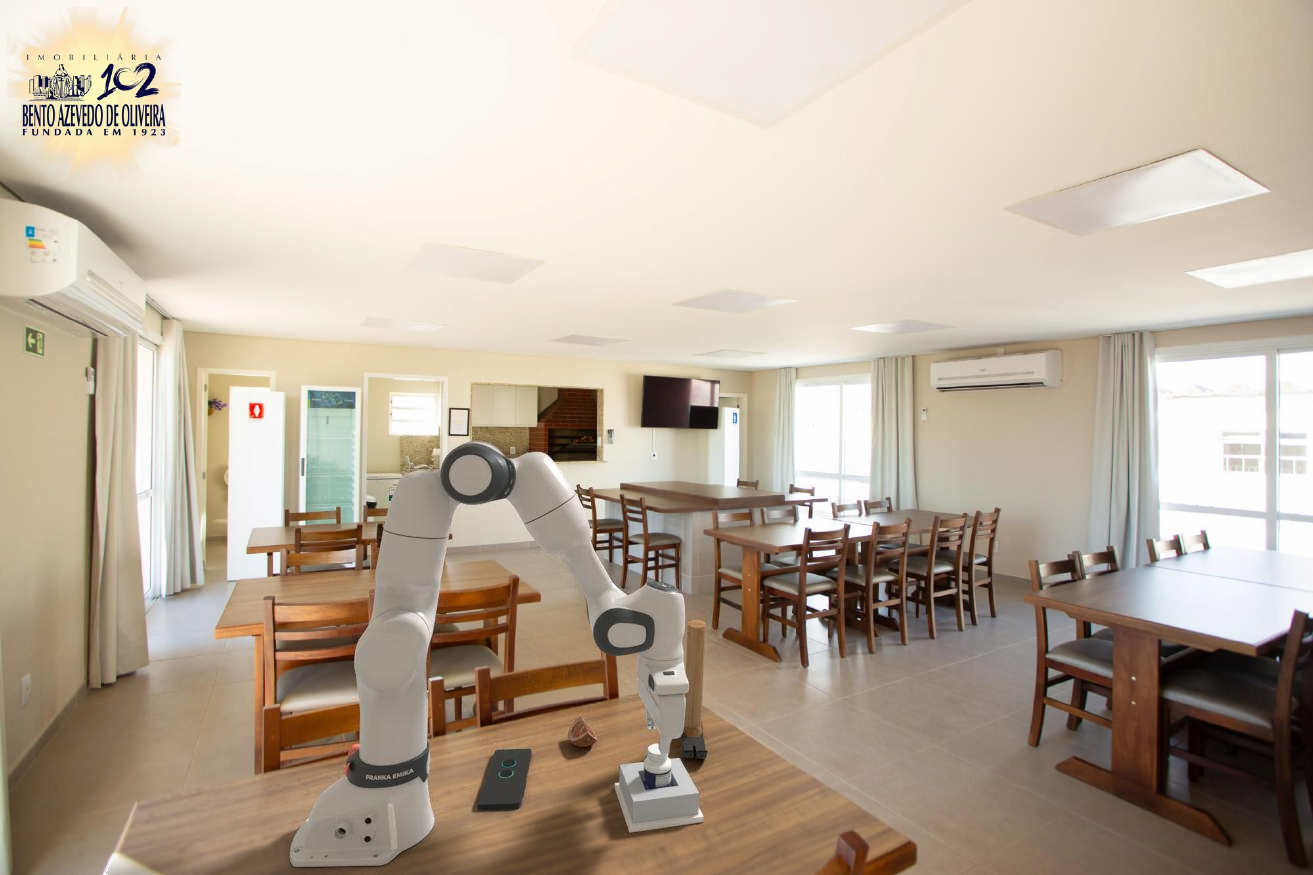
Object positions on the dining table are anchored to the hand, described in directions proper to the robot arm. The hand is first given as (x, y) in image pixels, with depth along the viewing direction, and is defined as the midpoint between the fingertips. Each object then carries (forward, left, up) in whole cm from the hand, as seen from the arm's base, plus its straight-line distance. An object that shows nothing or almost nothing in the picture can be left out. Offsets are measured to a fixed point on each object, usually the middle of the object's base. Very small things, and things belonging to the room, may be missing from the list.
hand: (657, 739), depth 116 cm
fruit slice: (-11, +25, -13) cm, 30 cm away
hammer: (+14, +21, -13) cm, 29 cm away
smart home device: (-28, +15, -13) cm, 34 cm away
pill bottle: (0, 0, -12) cm, 12 cm away
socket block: (0, 0, -13) cm, 13 cm away
